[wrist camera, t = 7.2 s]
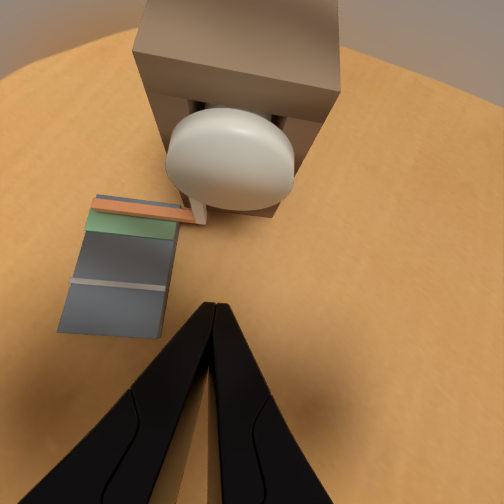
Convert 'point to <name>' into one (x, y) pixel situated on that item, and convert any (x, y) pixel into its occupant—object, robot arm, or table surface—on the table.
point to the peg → (221, 165)
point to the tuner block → (188, 102)
